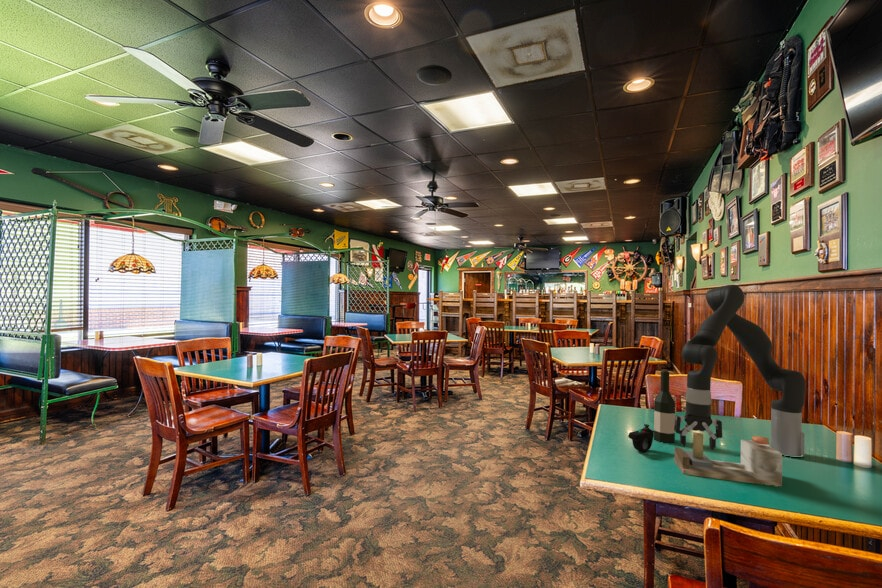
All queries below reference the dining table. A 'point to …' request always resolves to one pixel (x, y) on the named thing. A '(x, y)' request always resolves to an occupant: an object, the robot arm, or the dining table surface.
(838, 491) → the dining table surface
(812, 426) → the dining table surface
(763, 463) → the rail board
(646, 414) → the dining table surface
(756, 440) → the button
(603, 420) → the dining table surface
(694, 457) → the carriage
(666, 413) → the wine bottle
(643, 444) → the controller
